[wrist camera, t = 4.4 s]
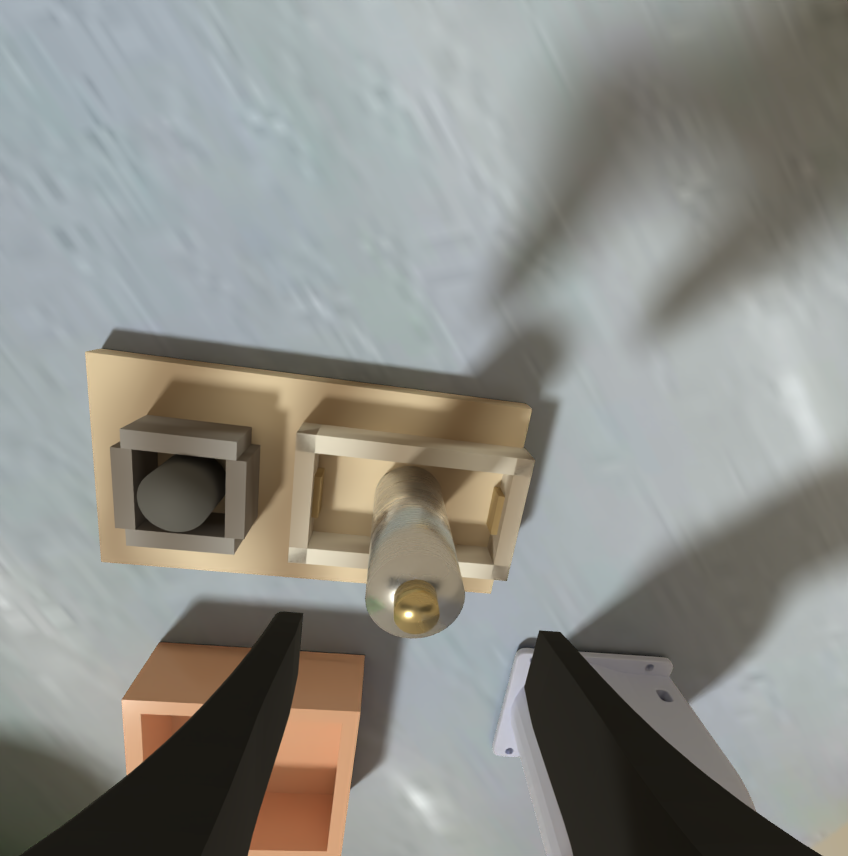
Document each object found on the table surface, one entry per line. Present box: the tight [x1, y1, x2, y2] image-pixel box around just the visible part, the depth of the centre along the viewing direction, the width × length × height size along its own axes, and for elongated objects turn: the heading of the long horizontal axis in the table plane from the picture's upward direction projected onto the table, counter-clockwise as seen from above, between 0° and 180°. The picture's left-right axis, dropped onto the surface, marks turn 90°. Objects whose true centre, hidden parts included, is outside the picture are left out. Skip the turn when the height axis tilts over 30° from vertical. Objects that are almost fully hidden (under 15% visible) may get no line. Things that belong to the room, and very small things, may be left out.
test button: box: [137, 454, 226, 532], centre depth 19 cm, size 3×3×2 cm
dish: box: [122, 642, 365, 856], centre depth 24 cm, size 11×11×4 cm
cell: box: [365, 466, 465, 638], centre depth 17 cm, size 3×3×8 cm
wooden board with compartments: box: [85, 349, 535, 594], centre depth 20 cm, size 19×10×3 cm, turn 82°
